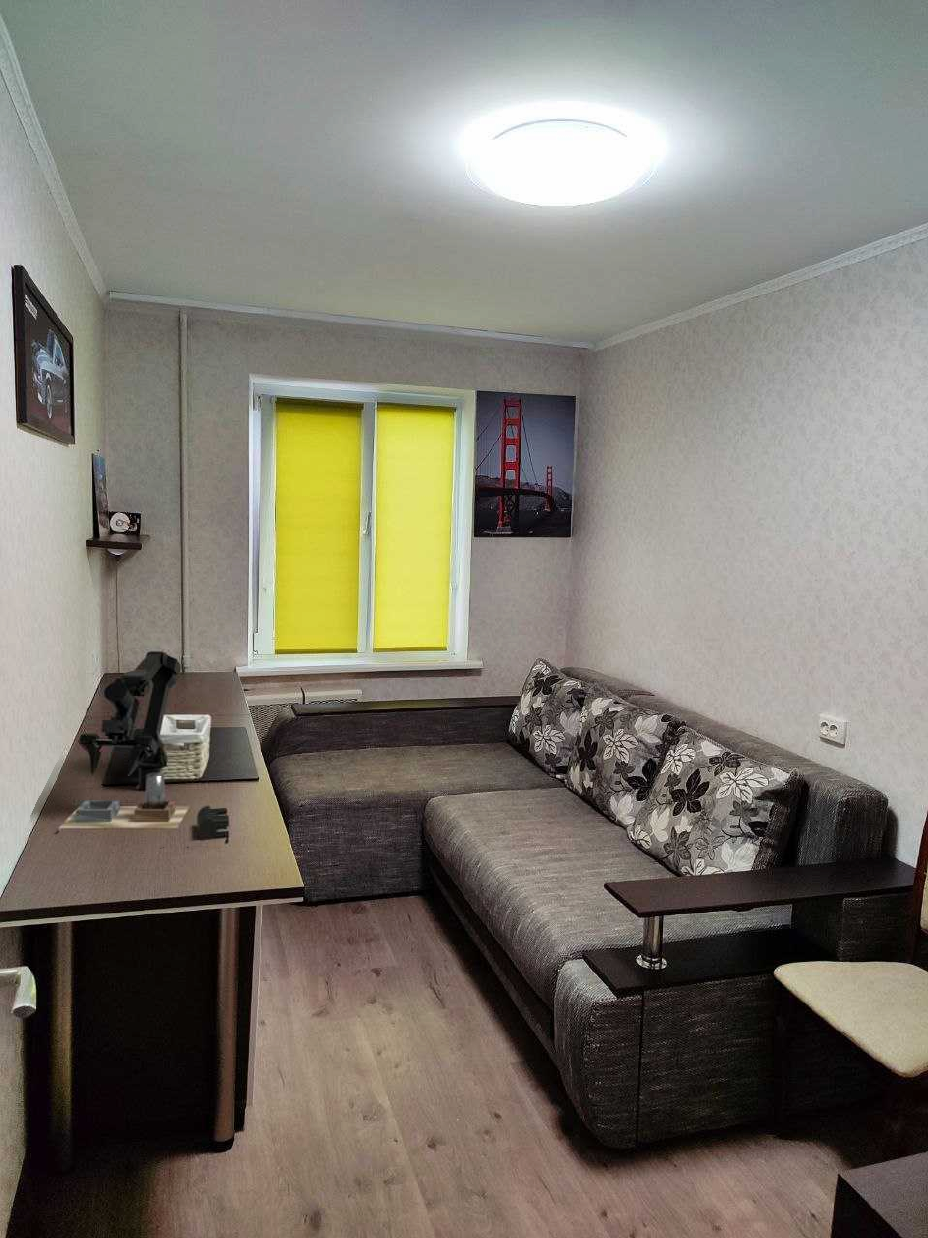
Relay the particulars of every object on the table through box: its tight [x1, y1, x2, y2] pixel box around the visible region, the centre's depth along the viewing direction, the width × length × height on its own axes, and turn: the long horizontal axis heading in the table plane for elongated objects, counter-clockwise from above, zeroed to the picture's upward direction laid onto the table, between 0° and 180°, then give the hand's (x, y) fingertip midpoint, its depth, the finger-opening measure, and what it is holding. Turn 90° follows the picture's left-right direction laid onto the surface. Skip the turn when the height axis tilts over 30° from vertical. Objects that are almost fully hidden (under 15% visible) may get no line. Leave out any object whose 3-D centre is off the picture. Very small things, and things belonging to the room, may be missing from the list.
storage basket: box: [160, 714, 212, 780], centre depth 272 cm, size 24×16×15 cm
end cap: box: [196, 805, 230, 844], centre depth 218 cm, size 10×7×7 cm
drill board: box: [58, 799, 190, 833], centre depth 226 cm, size 16×28×4 cm, turn 97°
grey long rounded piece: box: [145, 772, 165, 809], centre depth 226 cm, size 4×4×11 cm
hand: (110, 774), depth 226 cm, fingers open, 9 cm apart
